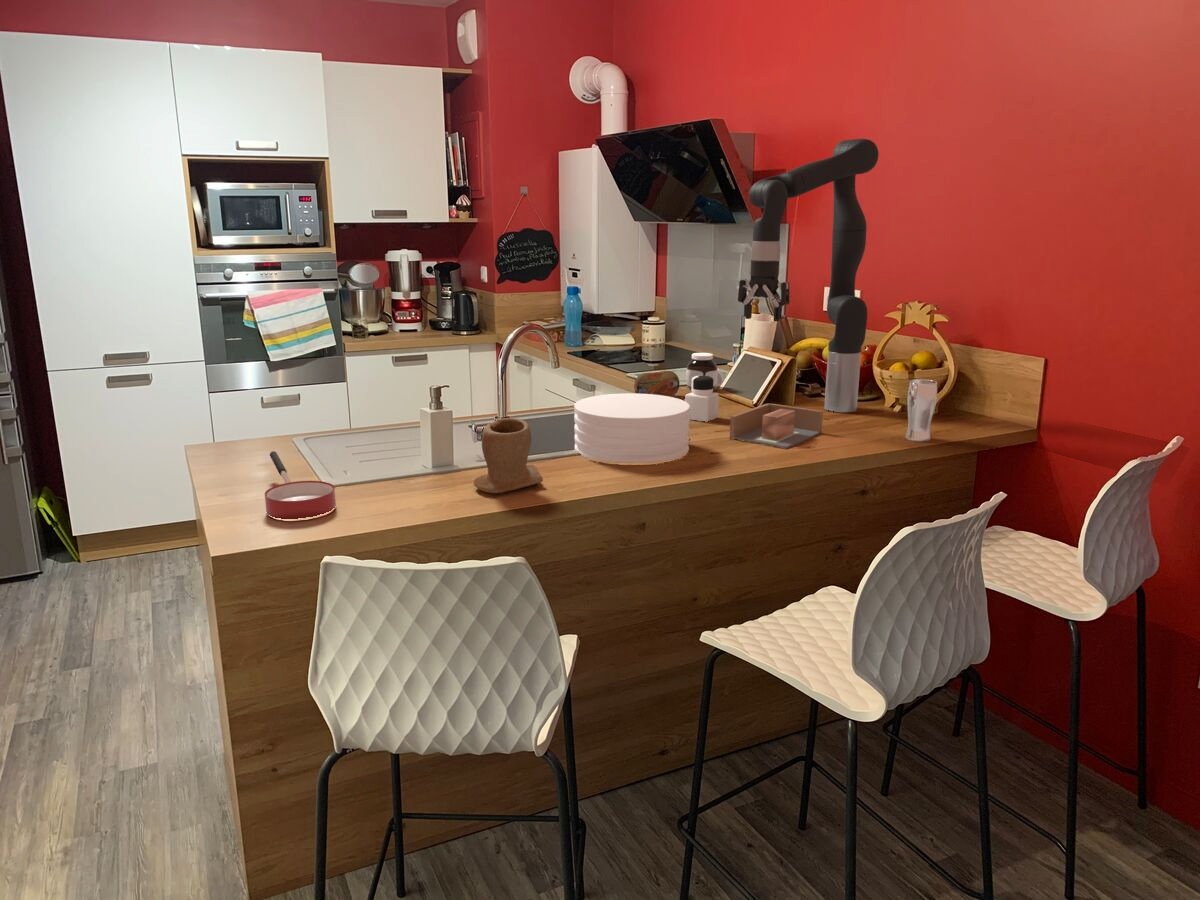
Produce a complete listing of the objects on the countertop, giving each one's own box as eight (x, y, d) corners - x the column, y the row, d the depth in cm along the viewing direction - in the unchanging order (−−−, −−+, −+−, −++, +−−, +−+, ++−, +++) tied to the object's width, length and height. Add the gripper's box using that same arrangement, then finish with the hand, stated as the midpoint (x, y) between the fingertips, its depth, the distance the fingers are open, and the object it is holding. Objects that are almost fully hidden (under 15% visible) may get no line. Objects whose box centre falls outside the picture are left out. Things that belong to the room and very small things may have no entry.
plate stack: (639, 431, 240) (640, 389, 237) (712, 453, 218) (714, 407, 215) (552, 447, 224) (551, 402, 221) (621, 473, 202) (622, 423, 199)
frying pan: (233, 485, 193) (229, 457, 191) (293, 475, 200) (291, 448, 199) (278, 527, 168) (275, 495, 166) (346, 514, 175) (343, 483, 174)
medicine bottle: (718, 417, 254) (719, 375, 251) (707, 422, 248) (708, 379, 245) (695, 414, 258) (696, 373, 255) (684, 419, 252) (685, 377, 249)
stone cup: (494, 502, 182) (492, 430, 178) (466, 487, 191) (464, 419, 187) (557, 488, 191) (556, 420, 187) (527, 475, 200) (526, 409, 196)
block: (761, 438, 229) (762, 415, 227) (779, 430, 236) (781, 408, 235) (775, 440, 226) (777, 417, 225) (793, 433, 234) (795, 410, 232)
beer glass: (928, 435, 234) (934, 379, 230) (935, 442, 227) (941, 384, 223) (901, 435, 235) (906, 378, 231) (907, 441, 228) (912, 383, 224)
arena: (767, 424, 246) (768, 403, 245) (821, 433, 237) (822, 411, 235) (729, 438, 231) (730, 416, 229) (786, 448, 221) (787, 425, 220)
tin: (637, 401, 276) (637, 374, 274) (632, 399, 279) (632, 372, 277) (679, 396, 282) (680, 370, 280) (674, 395, 285) (675, 368, 283)
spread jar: (685, 391, 290) (685, 355, 287) (687, 384, 301) (688, 350, 298) (722, 392, 288) (723, 356, 285) (723, 386, 299) (724, 351, 296)
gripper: (734, 258, 240) (732, 319, 244) (783, 260, 231) (779, 323, 236) (748, 257, 245) (746, 316, 250) (796, 259, 237) (792, 320, 241)
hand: (762, 319), depth 243 cm, fingers open, 8 cm apart
